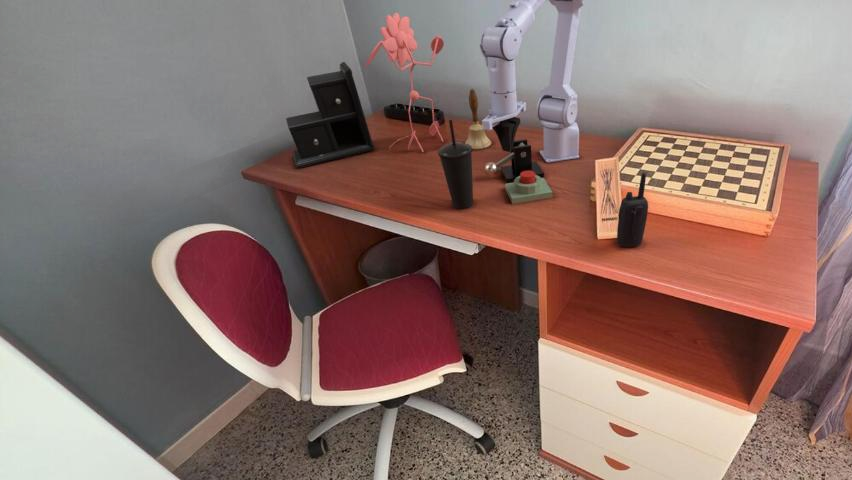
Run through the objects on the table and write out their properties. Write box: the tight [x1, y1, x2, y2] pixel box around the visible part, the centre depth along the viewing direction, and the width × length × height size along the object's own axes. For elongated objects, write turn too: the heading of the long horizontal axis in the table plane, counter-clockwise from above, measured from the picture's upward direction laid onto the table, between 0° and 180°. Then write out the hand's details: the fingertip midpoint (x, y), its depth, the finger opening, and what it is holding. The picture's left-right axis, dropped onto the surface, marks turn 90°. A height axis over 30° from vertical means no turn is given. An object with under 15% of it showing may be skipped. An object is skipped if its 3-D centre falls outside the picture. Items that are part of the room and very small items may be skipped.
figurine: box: [365, 12, 457, 153], centre depth 123 cm, size 15×26×35 cm, turn 145°
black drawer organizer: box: [285, 61, 375, 169], centre depth 125 cm, size 23×11×24 cm, turn 116°
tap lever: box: [483, 142, 524, 178], centre depth 109 cm, size 12×4×4 cm, turn 102°
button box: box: [504, 175, 554, 205], centre depth 103 cm, size 10×8×4 cm
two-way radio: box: [616, 172, 649, 248], centre depth 80 cm, size 6×4×15 cm
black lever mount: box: [499, 138, 545, 184], centre depth 110 cm, size 10×8×8 cm
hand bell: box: [464, 88, 492, 150], centre depth 126 cm, size 8×8×16 cm
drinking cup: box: [437, 119, 474, 211], centre depth 96 cm, size 8×8×20 cm
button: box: [520, 171, 535, 184], centre depth 102 cm, size 4×4×2 cm
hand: (507, 150), depth 102 cm, fingers closed
